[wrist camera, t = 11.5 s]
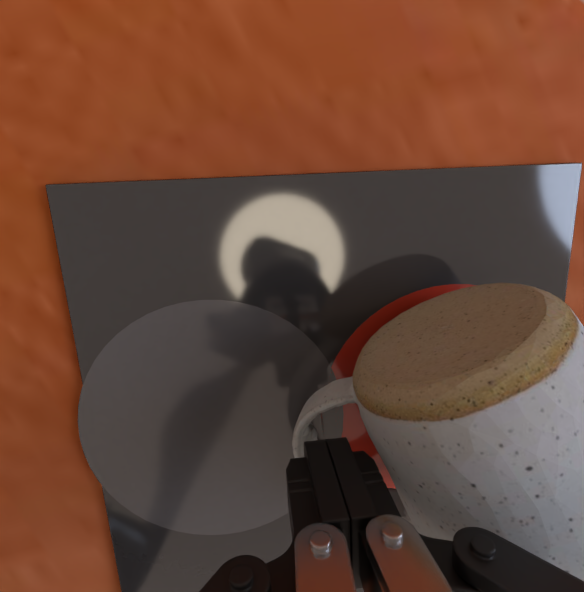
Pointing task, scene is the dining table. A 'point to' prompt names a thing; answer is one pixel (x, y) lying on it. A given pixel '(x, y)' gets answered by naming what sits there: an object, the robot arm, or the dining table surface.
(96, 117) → the dining table surface
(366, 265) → the hob
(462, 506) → the ceramic mug
